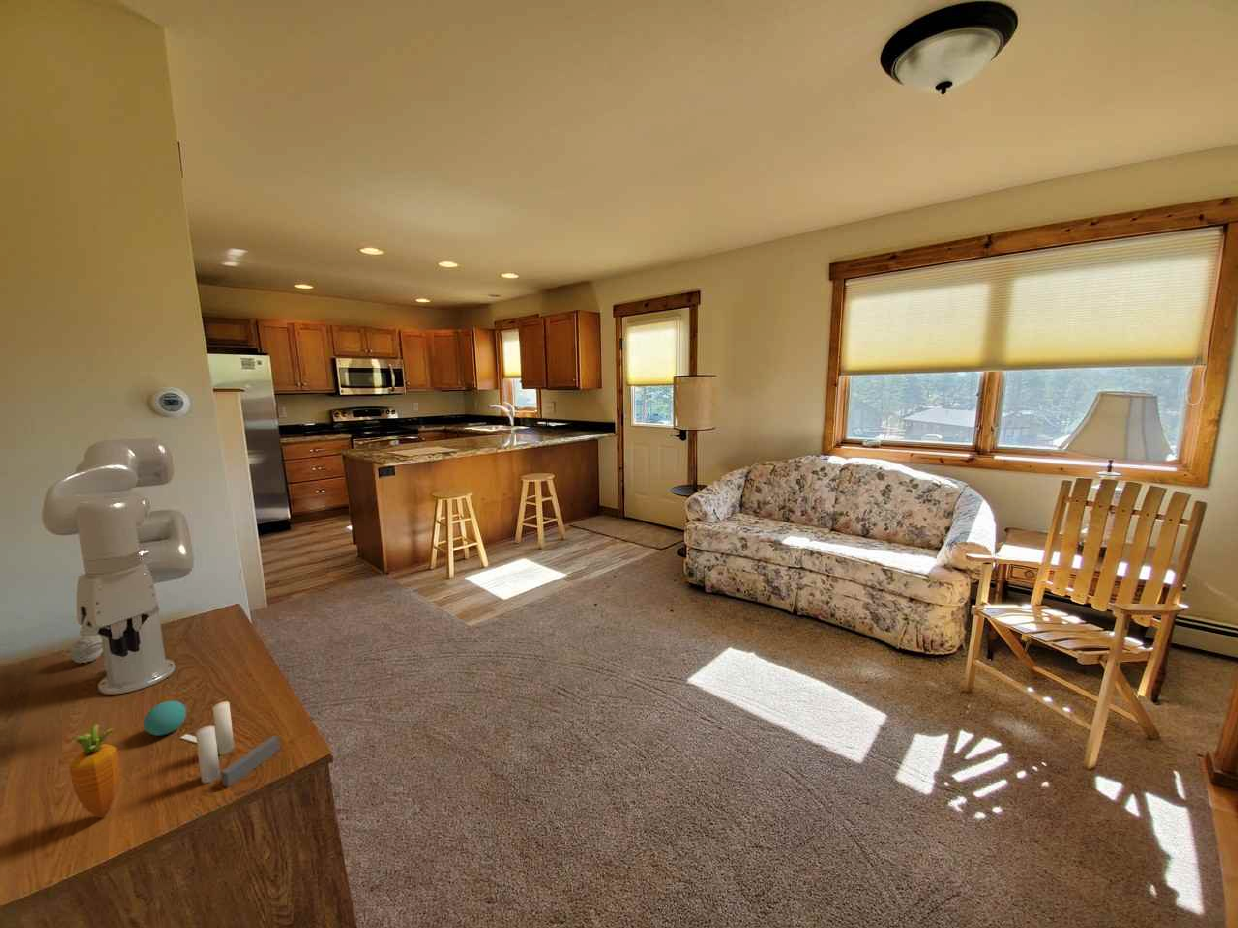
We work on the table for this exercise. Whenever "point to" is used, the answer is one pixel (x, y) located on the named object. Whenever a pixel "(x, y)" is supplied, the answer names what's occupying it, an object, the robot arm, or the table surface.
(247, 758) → the wall
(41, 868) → the table surface
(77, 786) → the carrot
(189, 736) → the lane line
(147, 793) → the table surface
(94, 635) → the robot arm
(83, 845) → the table surface
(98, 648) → the white ridged lump
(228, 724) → the ivory pin
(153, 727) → the ball
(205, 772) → the white cylinder rod
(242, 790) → the table surface
